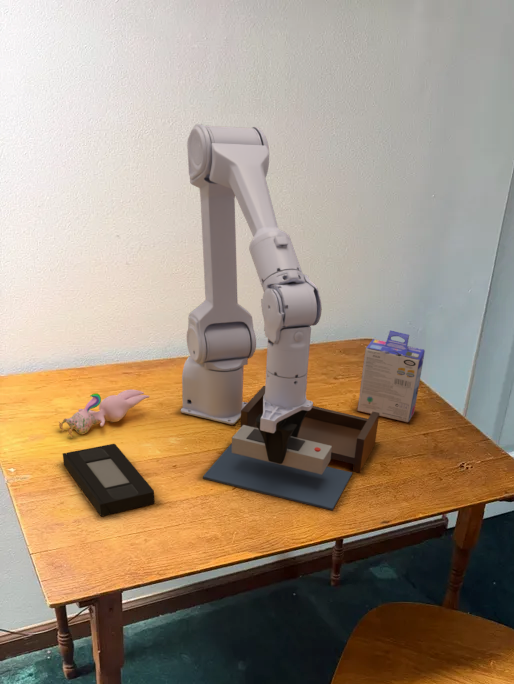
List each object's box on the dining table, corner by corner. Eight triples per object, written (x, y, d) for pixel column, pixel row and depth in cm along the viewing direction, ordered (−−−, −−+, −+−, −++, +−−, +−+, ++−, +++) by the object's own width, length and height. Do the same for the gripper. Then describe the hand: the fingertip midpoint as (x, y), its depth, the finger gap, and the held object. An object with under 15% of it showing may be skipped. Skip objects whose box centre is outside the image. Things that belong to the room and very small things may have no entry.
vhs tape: (115, 455, 118) (114, 443, 116) (155, 503, 109) (154, 491, 108) (64, 465, 113) (62, 453, 112) (101, 516, 105) (100, 504, 104)
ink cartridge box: (415, 411, 145) (428, 336, 136) (409, 424, 140) (423, 347, 132) (363, 399, 145) (373, 324, 137) (356, 411, 141) (366, 334, 133)
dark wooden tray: (239, 443, 126) (240, 410, 122) (261, 417, 134) (263, 385, 130) (359, 473, 124) (364, 439, 121) (374, 444, 132) (379, 412, 129)
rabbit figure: (79, 450, 120) (160, 410, 128) (70, 418, 115) (154, 378, 124) (56, 434, 122) (136, 395, 131) (46, 401, 118) (129, 364, 127)
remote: (231, 452, 116) (231, 436, 115) (242, 439, 120) (243, 423, 118) (321, 474, 115) (323, 458, 114) (330, 460, 119) (332, 444, 117)
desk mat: (202, 478, 116) (202, 476, 116) (231, 445, 125) (231, 443, 125) (332, 510, 114) (332, 508, 114) (352, 474, 123) (352, 472, 123)
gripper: (298, 396, 103) (291, 483, 111) (329, 357, 115) (321, 438, 123) (247, 384, 104) (243, 472, 112) (283, 346, 116) (278, 428, 123)
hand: (281, 454), depth 117 cm, fingers closed on remote, 4 cm apart
